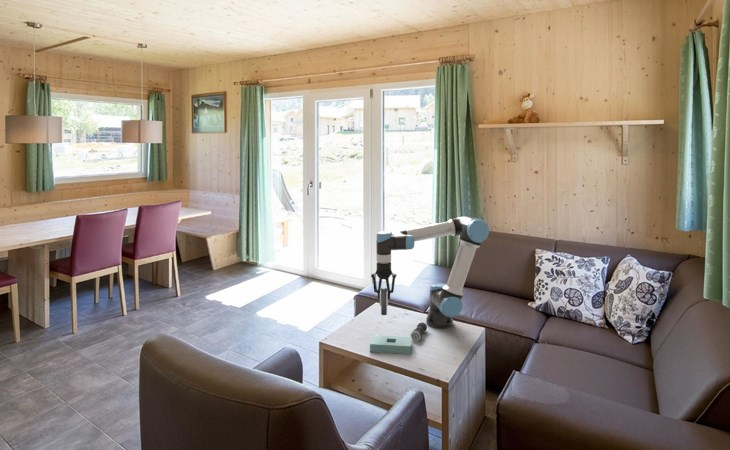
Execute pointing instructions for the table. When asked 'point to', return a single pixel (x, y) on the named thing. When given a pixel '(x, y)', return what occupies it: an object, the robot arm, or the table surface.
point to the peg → (383, 301)
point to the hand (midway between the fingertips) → (383, 305)
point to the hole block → (391, 344)
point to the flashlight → (418, 331)
